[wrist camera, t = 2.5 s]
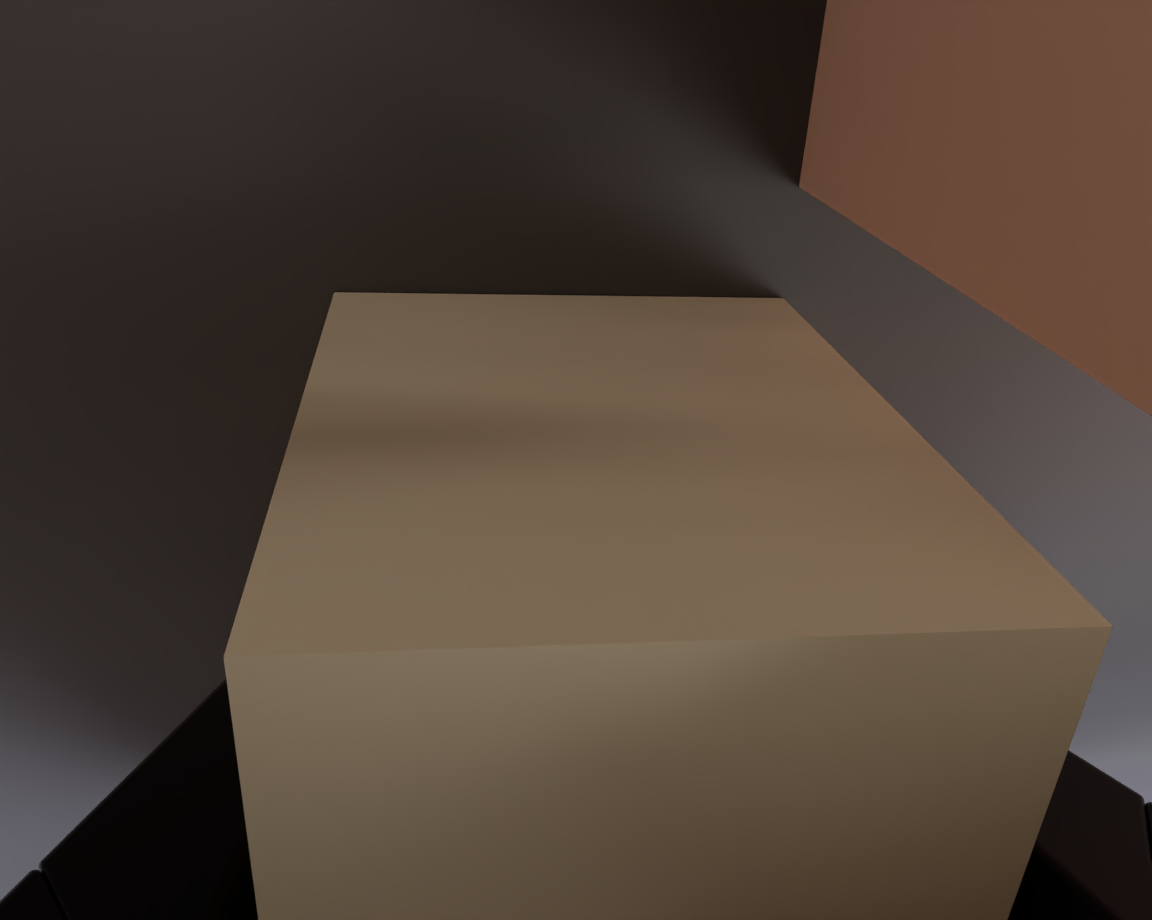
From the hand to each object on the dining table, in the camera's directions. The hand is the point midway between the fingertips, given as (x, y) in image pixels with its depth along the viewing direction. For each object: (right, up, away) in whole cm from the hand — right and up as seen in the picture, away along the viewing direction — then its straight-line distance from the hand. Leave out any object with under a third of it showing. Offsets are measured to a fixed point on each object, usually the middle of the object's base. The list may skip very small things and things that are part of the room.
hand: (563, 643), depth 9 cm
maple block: (0, 0, +1) cm, 1 cm away
